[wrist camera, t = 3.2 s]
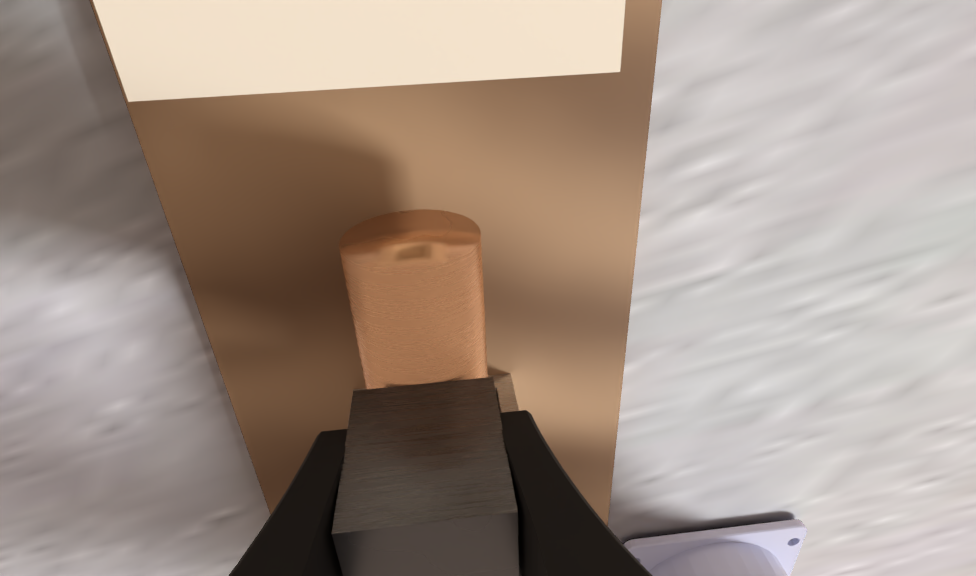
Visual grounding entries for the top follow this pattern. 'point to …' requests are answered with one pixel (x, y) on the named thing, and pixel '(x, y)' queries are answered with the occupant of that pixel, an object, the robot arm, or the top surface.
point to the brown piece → (422, 407)
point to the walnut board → (412, 186)
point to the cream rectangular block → (351, 43)
